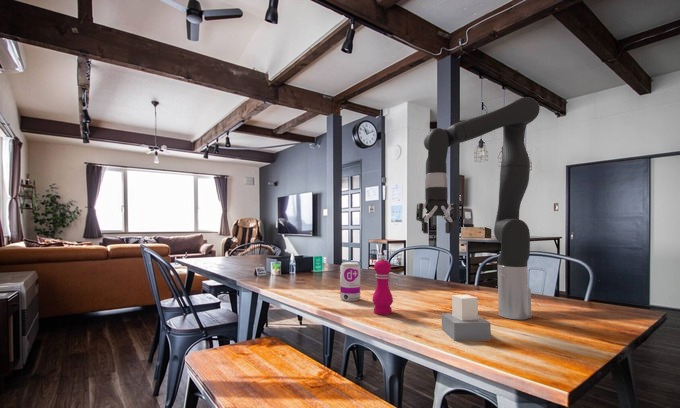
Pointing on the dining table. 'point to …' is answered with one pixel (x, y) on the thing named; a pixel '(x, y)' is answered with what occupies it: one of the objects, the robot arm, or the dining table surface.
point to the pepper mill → (382, 288)
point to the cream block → (465, 307)
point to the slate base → (466, 328)
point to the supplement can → (350, 281)
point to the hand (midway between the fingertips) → (436, 233)
